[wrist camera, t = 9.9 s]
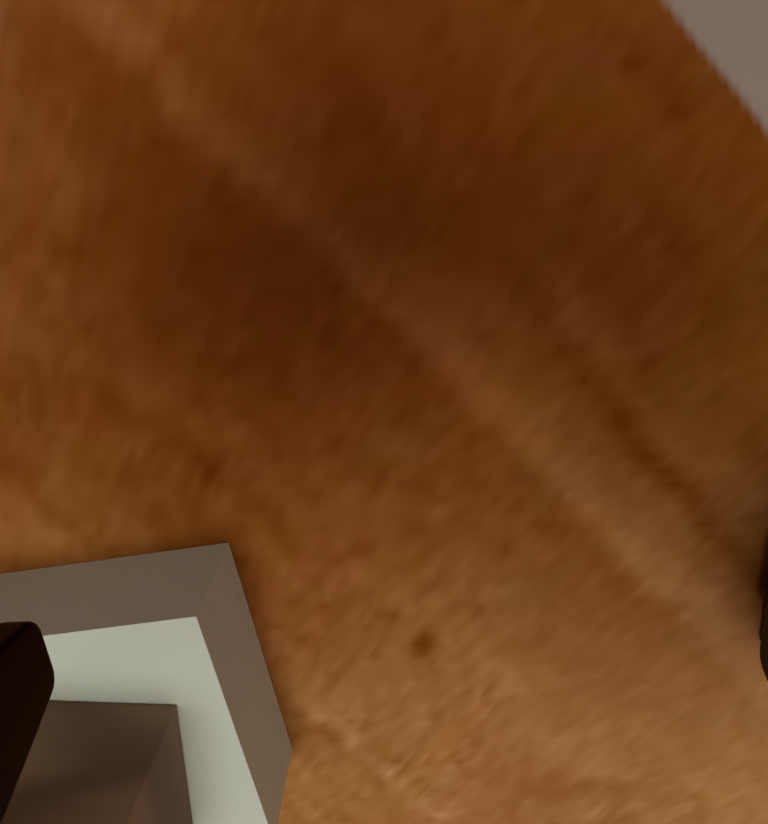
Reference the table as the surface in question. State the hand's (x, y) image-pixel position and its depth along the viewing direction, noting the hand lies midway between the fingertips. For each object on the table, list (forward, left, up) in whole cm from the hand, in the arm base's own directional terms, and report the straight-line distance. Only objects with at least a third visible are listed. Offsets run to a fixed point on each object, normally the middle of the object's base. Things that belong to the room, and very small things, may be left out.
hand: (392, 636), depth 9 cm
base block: (+10, +11, -12) cm, 19 cm away
